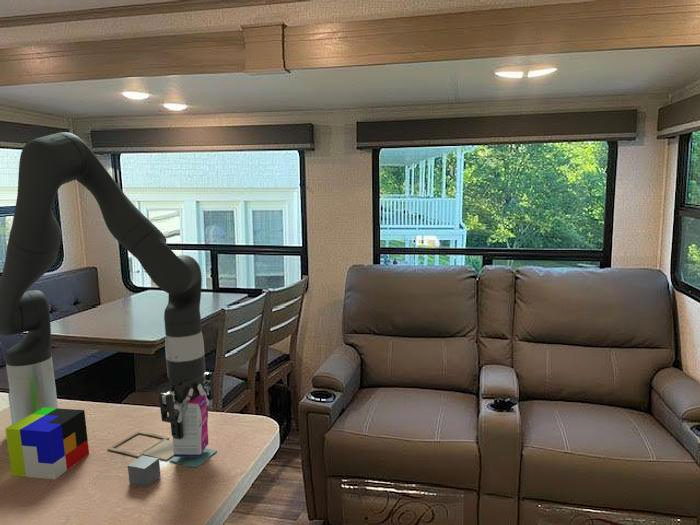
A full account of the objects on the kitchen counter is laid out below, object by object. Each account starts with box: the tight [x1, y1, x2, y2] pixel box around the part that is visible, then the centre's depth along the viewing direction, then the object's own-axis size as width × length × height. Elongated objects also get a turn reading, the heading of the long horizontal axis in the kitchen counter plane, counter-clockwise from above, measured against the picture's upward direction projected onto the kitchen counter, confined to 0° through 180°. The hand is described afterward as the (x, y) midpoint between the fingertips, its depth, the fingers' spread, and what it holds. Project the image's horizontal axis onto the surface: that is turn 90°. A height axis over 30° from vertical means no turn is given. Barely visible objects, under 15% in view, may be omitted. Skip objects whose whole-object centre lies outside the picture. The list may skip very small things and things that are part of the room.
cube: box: [127, 455, 161, 489], centre depth 103 cm, size 4×4×4 cm
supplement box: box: [172, 395, 209, 457], centre depth 110 cm, size 6×6×12 cm
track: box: [107, 430, 218, 469], centre depth 115 cm, size 23×9×1 cm, turn 66°
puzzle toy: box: [5, 407, 90, 480], centre depth 109 cm, size 10×10×10 cm
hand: (190, 429), depth 111 cm, fingers closed on supplement box, 7 cm apart
